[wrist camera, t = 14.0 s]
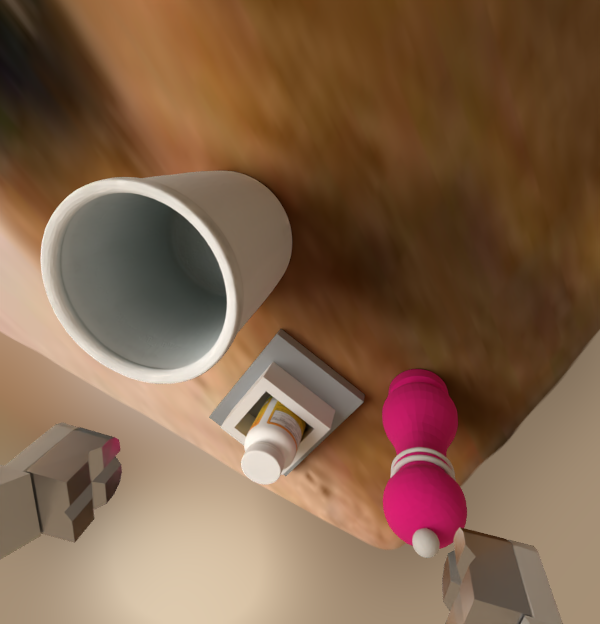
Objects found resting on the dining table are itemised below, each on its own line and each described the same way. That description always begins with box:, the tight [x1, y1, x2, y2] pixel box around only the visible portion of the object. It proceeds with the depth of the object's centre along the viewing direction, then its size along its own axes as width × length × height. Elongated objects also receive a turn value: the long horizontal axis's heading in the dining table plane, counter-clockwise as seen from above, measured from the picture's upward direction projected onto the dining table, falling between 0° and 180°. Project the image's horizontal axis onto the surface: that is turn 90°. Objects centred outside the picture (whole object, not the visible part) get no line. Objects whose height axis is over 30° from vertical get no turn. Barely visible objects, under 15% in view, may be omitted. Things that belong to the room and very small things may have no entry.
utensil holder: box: [41, 171, 292, 384], centre depth 37 cm, size 15×15×18 cm
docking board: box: [209, 329, 365, 476], centre depth 48 cm, size 12×15×5 cm
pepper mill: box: [382, 369, 467, 558], centre depth 37 cm, size 7×7×20 cm
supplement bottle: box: [241, 395, 307, 484], centre depth 44 cm, size 5×5×10 cm
